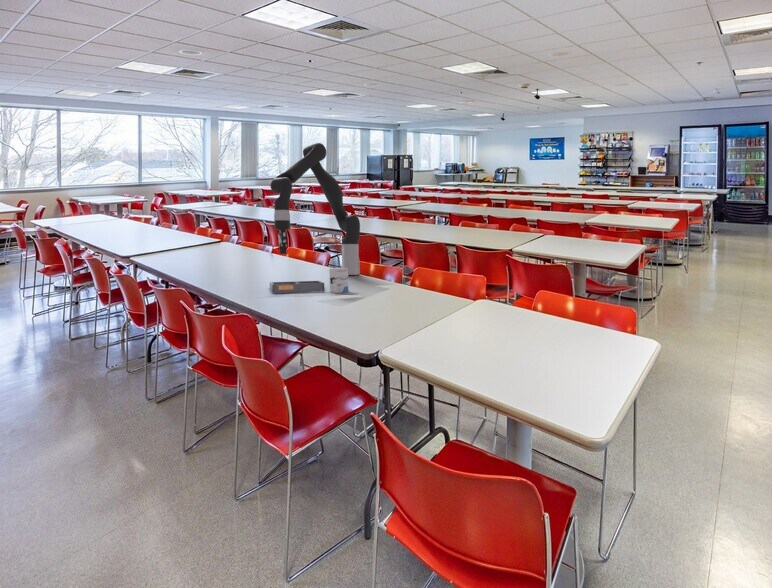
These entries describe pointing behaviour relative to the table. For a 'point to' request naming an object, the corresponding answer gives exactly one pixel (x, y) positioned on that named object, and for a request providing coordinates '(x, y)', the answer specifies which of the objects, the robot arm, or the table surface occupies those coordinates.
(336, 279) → the ink box
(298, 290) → the tray
